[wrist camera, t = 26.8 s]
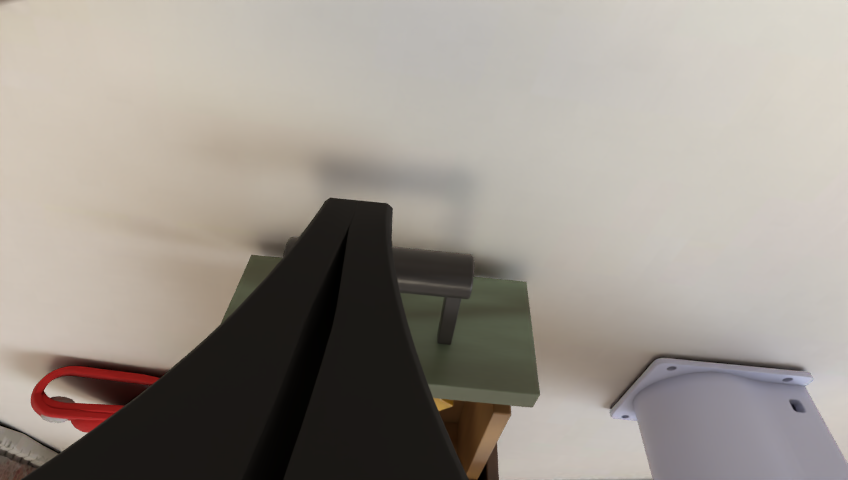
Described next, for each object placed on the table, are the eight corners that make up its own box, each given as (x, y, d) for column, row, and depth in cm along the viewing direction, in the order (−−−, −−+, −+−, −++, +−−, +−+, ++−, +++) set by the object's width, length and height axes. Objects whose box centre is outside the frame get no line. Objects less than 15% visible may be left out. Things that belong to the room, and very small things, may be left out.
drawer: (226, 170, 18) (158, 282, 14) (556, 203, 18) (582, 323, 14) (293, 397, 33) (269, 483, 29) (475, 414, 33) (477, 502, 29)
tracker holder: (162, 438, 40) (15, 432, 34) (175, 385, 41) (39, 371, 36) (206, 440, 31) (21, 432, 25) (220, 373, 33) (51, 352, 27)
